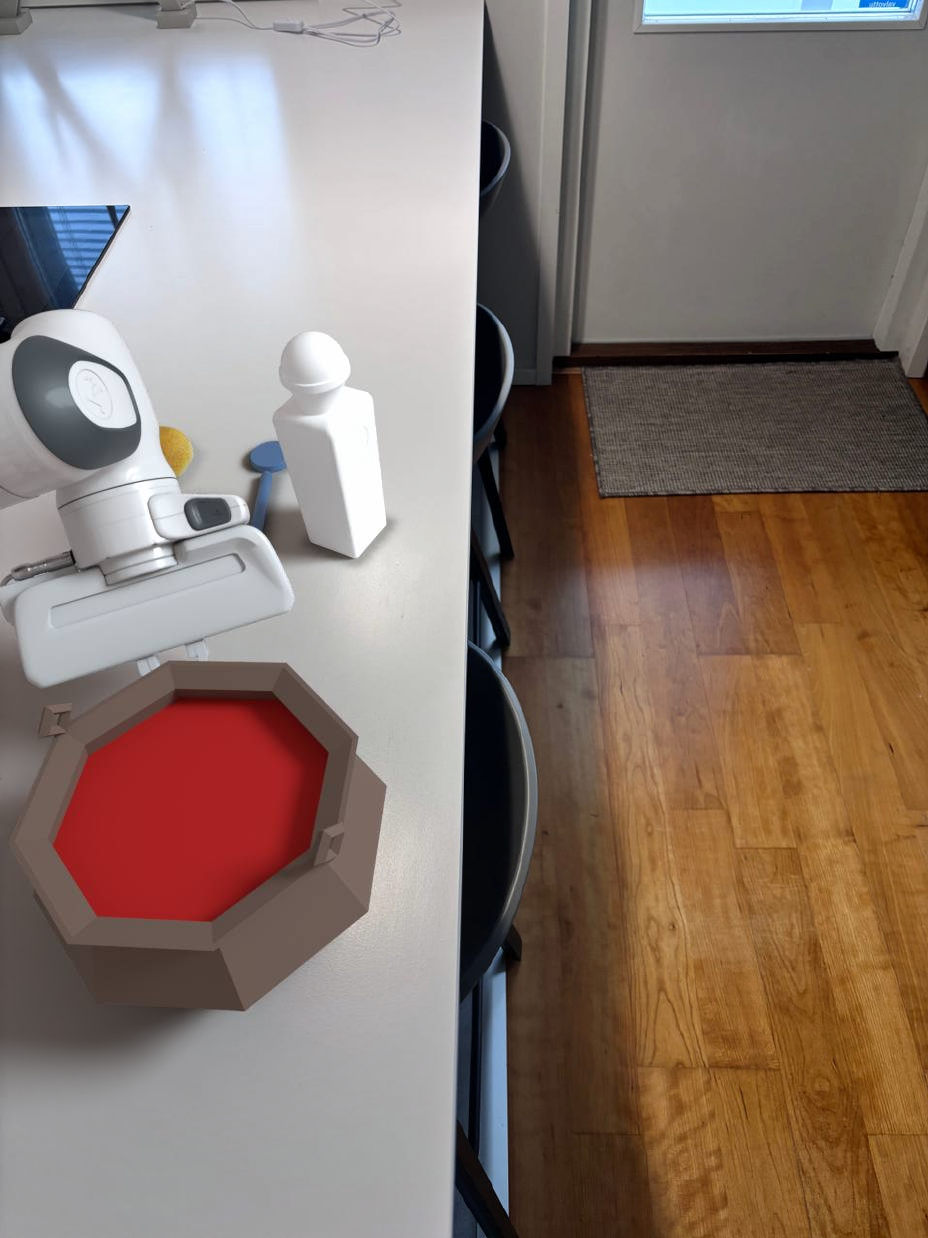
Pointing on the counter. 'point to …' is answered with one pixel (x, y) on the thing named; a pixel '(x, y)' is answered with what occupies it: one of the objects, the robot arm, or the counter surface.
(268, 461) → the spoon
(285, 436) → the white square bottle
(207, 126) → the counter surface
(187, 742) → the octagonal pot
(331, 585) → the counter surface
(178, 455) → the bread roll
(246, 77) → the counter surface
